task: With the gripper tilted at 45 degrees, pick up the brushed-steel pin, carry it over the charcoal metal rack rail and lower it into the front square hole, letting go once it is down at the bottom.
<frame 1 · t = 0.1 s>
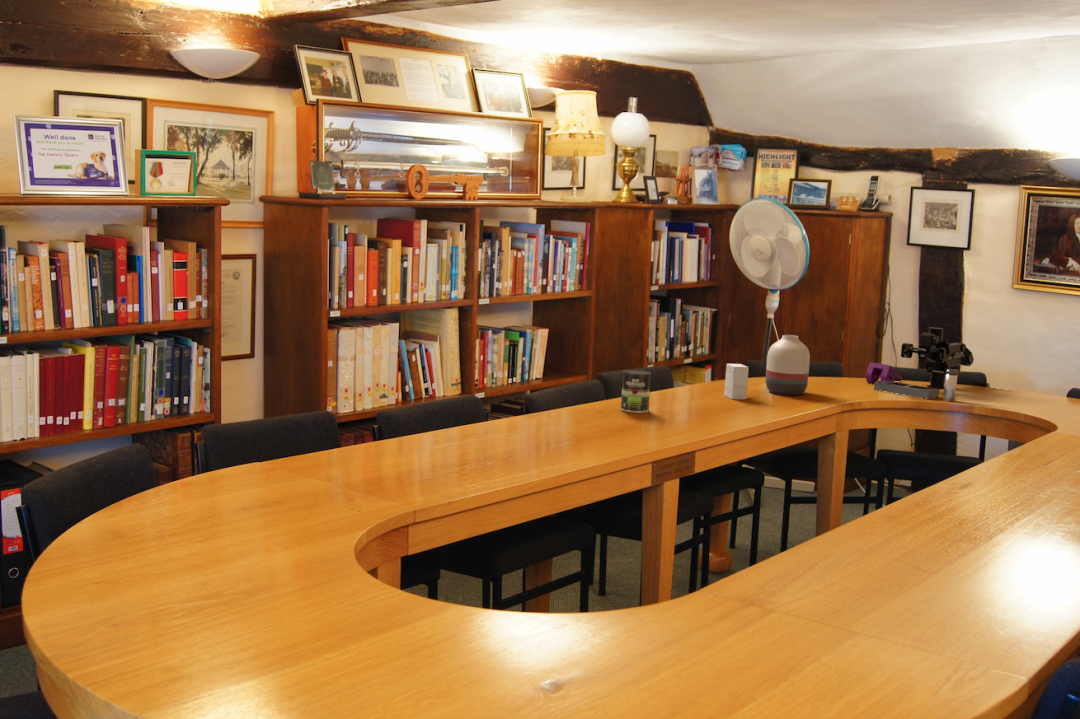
hand: (914, 354, 403), 17 cm above the table, tool horizontal, fingers open, 9 cm apart
coffee can: (634, 410, 345), on the table
vase: (785, 393, 393), on the table
rack rail: (917, 395, 399), on the table
mounting bracket: (885, 384, 427), on the table
steel pin: (948, 400, 391), on the table
small box: (735, 398, 378), on the table
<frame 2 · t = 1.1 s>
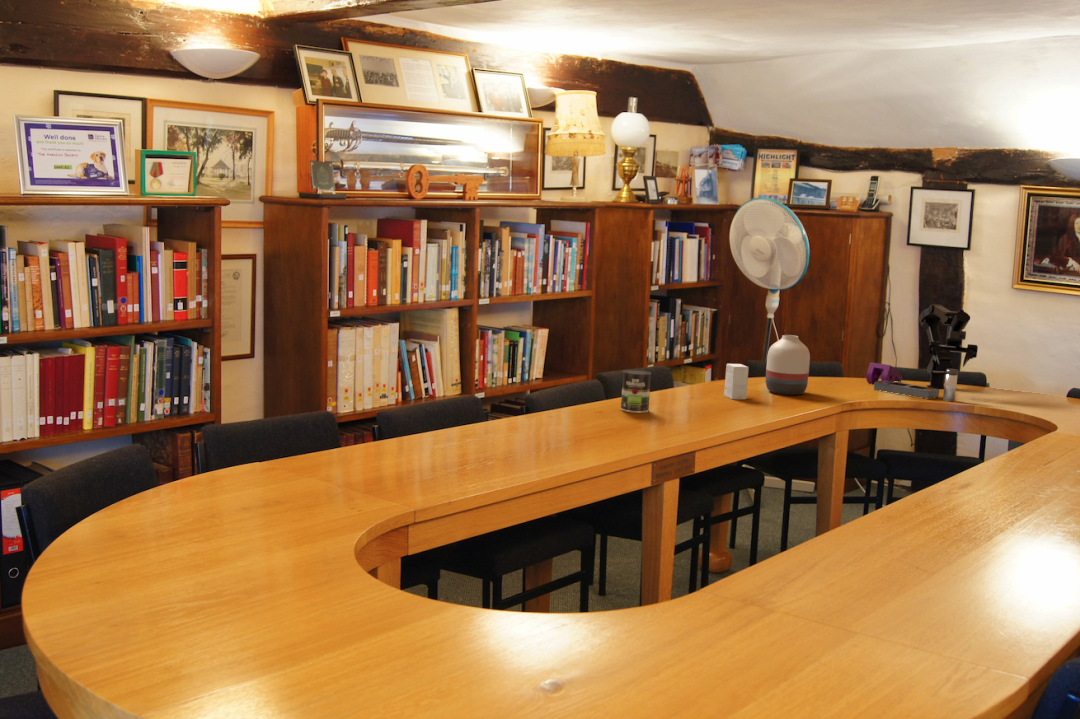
hand: (951, 365, 396), 14 cm above the table, tool tilted 45°, fingers open, 9 cm apart
nothing on the table moved.
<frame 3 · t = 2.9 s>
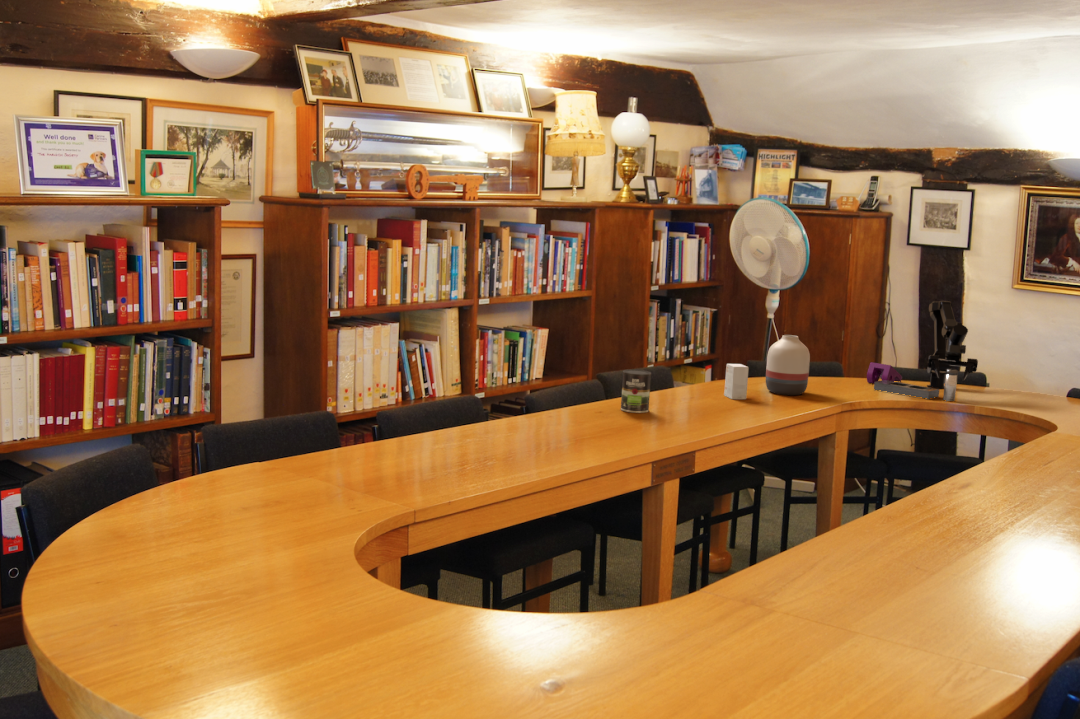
hand: (951, 379, 390), 9 cm above the table, tool tilted 45°, fingers open, 9 cm apart
nothing on the table moved.
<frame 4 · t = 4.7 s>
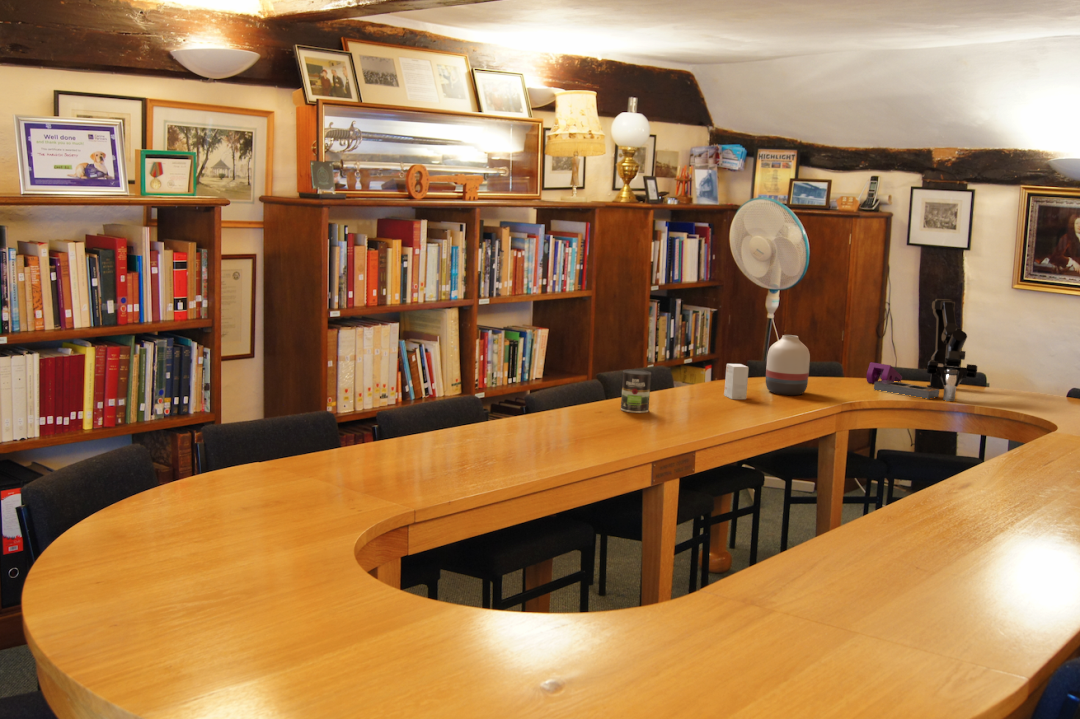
hand: (950, 385, 388), 7 cm above the table, tool tilted 45°, fingers closed on steel pin, 4 cm apart
steel pin: (948, 400, 391), on the table, touching gripper
everything else where it was.
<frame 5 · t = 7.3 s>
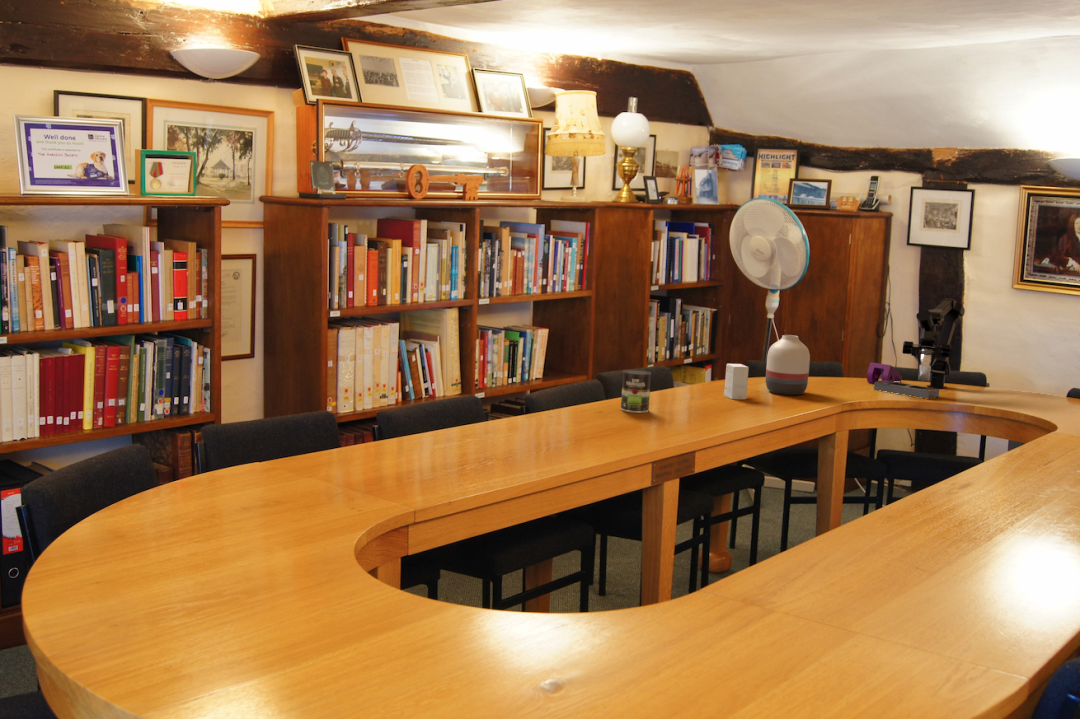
hand: (925, 365, 395), 13 cm above the table, tool tilted 45°, fingers closed on steel pin, 4 cm apart
steel pin: (923, 380, 397), point 7 cm above the table, touching gripper
everything else where it was.
when the fingers open (8 cm above the table, at t = 10.2 s): steel pin drops 1 cm, resting in rack rail.
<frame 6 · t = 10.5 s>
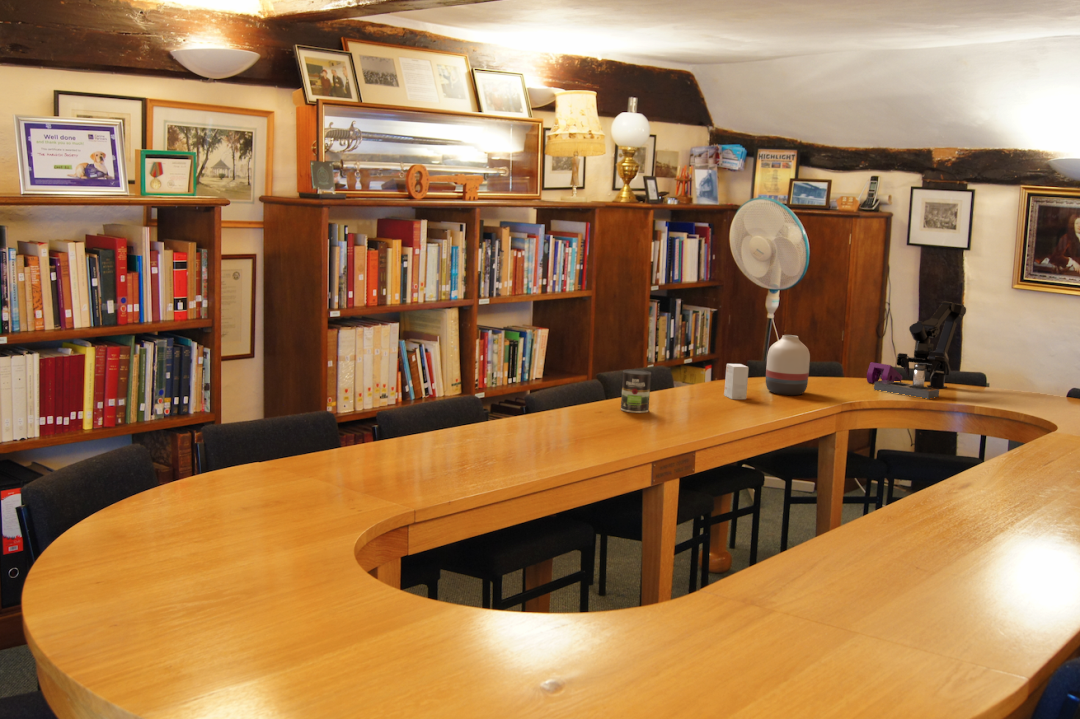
hand: (919, 377, 397), 8 cm above the table, tool tilted 45°, fingers open, 8 cm apart
steel pin: (917, 395, 399), resting in rack rail
everything else where it was.
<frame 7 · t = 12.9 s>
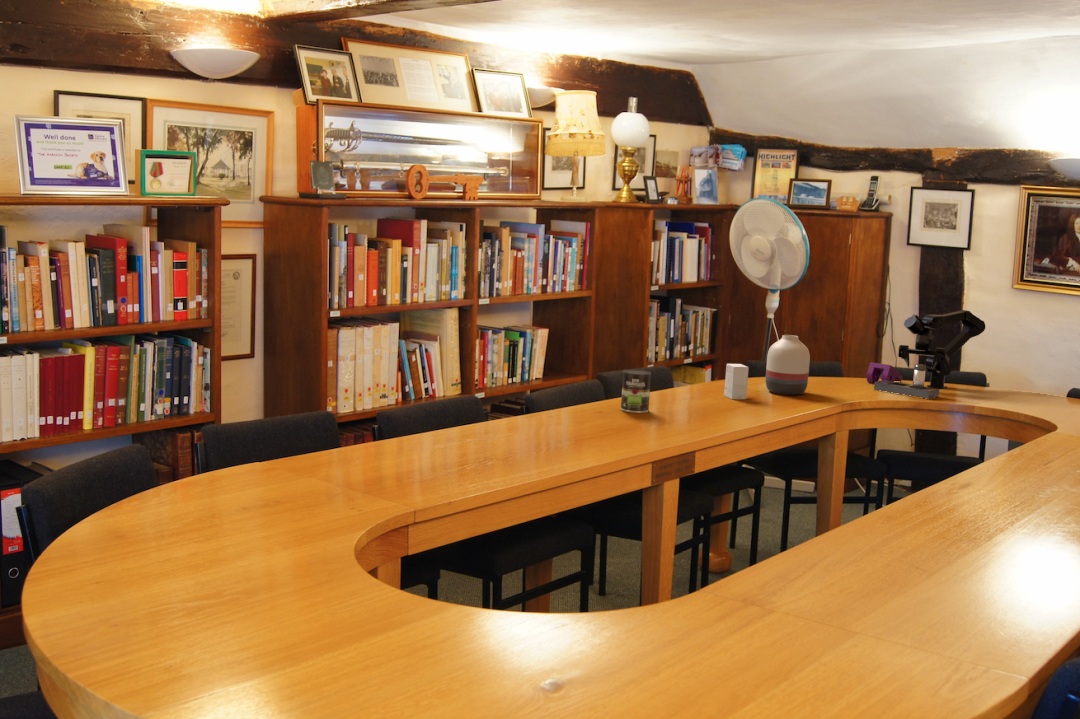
hand: (920, 368, 405), 11 cm above the table, tool tilted 45°, fingers open, 9 cm apart
nothing on the table moved.
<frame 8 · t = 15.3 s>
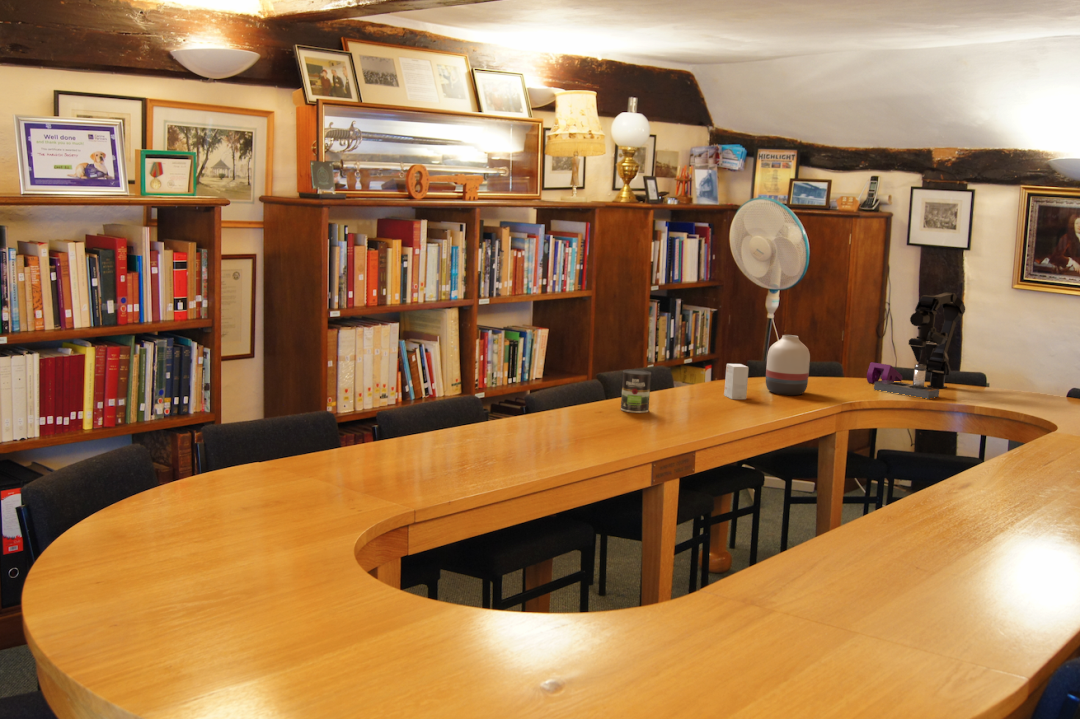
hand: (923, 361, 410), 13 cm above the table, tool pointing down, fingers open, 9 cm apart
nothing on the table moved.
at the end: steel pin 0.1 cm off-centre on the rack rail, point 0.0 cm above the rack rail's base; steel pin tilted 0°; the gripper is holding nothing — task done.
